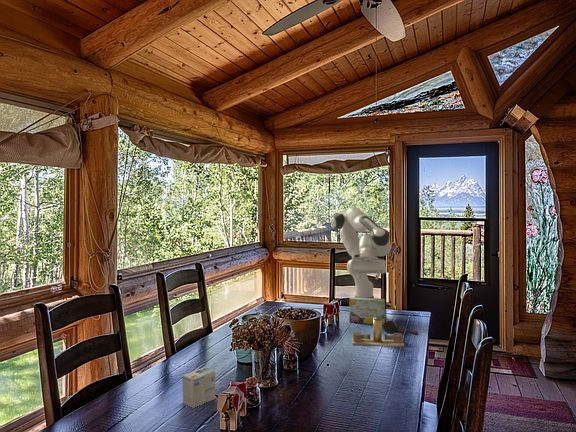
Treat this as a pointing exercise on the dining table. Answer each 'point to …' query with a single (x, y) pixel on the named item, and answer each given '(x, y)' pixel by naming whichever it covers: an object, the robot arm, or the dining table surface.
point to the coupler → (377, 329)
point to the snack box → (366, 309)
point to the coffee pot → (394, 327)
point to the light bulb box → (198, 387)
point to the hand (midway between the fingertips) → (368, 278)
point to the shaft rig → (387, 341)
